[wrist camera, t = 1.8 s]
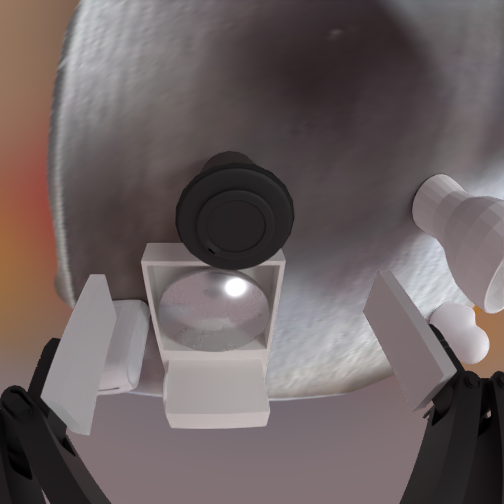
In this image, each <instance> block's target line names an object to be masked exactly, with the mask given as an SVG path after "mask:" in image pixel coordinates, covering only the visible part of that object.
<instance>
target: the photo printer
mask: <svg viewBox="0 0 504 504" xmlns="http://www.w3.org/2000/svg"><path fill="white" fill-rule="evenodd" d="M112 302H113V305H114V309H115V312H116V315H117V320H116V324H115V327H114V331H113V334H112V338H111V341H110V345H109V349H108V352H107V356H106V360H105V364H104V368H103V372H102V376H101V381H100V385H99V390H98V394H97V395H110V394H118V393H123V392H127V391H130V390H132V389H135V388H136V387H137V385H138V383H139V378H140V372H141V367H142V361H143V355H144V350H145V345H146V339H147V334H148V329H149V324H150V315H151V312H150V308H149V307H148V305H147V304H146V303H144V302H143V301H141V300H117V301H112Z"/></svg>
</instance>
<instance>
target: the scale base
mask: <svg viewBox="0 0 504 504" xmlns="http://www.w3.org/2000/svg"><path fill="white" fill-rule="evenodd" d="M285 262H286V260H285V258H284V255H283V252H282V249H280V250H279V251H278V252H277V253H276V254H275V255H274V256H272V257H271V258H270V259H269V260H267V261H265V262H263V263H262V264H259V265H257V266H255V267H251V268H247V269H242V270H238V271H240V272H243V273H245V274H246V275H248V276H250V277H251V278H253V279H254V280H255V281H256V282H257V283H258V284H259V285H260V286H261V287H262V289H263V290H264V292H265V294H266V297H267V301H268V306H269V319H268V323H267V325H266V327H265V329H264V330H263V332H262V333H261V334H260V335H259V336H258V337H257V338H256V339H254V340H253V341H252V342H250V343H248V344H247V345H245V346H242V347H240V348H237V349H234V350H229V351H223V352H205V351H199V350H194V349H191V348H188V347H186V346H183V345H182V344H180V343H178V342H176V341H175V340H174V339H172V338H171V337H170V336H169V335H168V334H167V333H166V332H165V330H164V329H163V327H162V325H161V323H160V320H159V313H158V312H159V304H160V299H161V295H162V293H163V291H164V289H165V288H166V286H167V285H168V284H169V283H170V282H171V281H172V280H173V279H174V278H176V277H177V276H179V275H180V274H182V273H184V272H186V271H189V270H192V269H195V268H200V267H209V266H210V265H208V264H206V263H204V262H202V261H201V260H199V259H198V258H197V257H195V256H194V255H192V254H191V253H190V252H189V251H188V249H187V248H186V247H185V245H184V244H183V243H147V245H146V248H145V251H144V254H143V257H142V260H141V264H142V270H143V276H144V281H145V287H146V292H147V297H148V302H149V307H150V312H151V316H152V321H153V325H154V330H155V334H156V338H157V343H158V347H159V351H160V355H161V358H162V362H163V366H164V370H165V374H164V378H163V406H164V411H165V415H166V416H167V419H168V421H169V424H170V426H171V428H194V429H196V428H198V429H205V428H206V429H214V428H242V427H258V426H266V424H267V421H268V417H269V414H270V407H269V401H268V395H267V390H266V384H265V378H264V377H265V376H266V370H267V365H268V360H269V355H270V349H271V344H272V338H273V333H274V327H275V322H276V316H277V310H278V305H279V299H280V293H281V287H282V281H283V275H284V268H285Z"/></svg>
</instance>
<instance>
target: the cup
mask: <svg viewBox="0 0 504 504" xmlns="http://www.w3.org/2000/svg"><path fill="white" fill-rule="evenodd" d="M412 214H413V219H414V222H415V224H416V225H417V226H418V227H419V228H420V229H421V230H423V231H424V232H426V233H427V234H429V235H431V236H432V237H434V238H436V239H437V240H438V241H439V243H440V244H441V246H442V247H443V248H444V251H445V255H446V260H447V263H448V266H449V269H450V271H451V273H452V276H453V278H454V280H455V283H456V284H457V285H458V287H459V288H460V289H461V290H462V291H463V293H464V294H465V295H466V296H467V297H468V299H469V300H470V301H472V302H473V303H474V304H476V305H477V306H478V307H480V308H481V309H483V310H484V311H485V312H487V313H492V314H493V313H496V312H499V311H501V310H502V309H504V200H501V199H497V198H493V197H489V196H486V197H476V196H474V195H472V194H470V193H467V192H465V191H464V190H463V189H462V188H461V187H460V186H459V185H458V184H457V183H456V182H455V181H454V180H453V179H451V178H450V177H449V176H447V175H443V174H439V175H435V176H432V177H430V178H429V179H428V180H426V181H425V182H424V183H423V184H422V186H421V187H420V188H419V190H418V192H417V194H416V196H415V198H414V202H413V208H412Z"/></svg>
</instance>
